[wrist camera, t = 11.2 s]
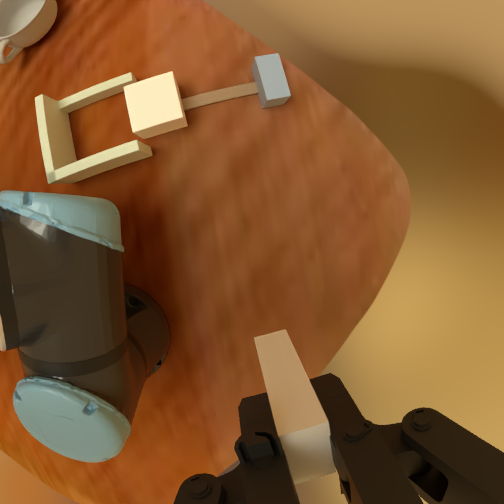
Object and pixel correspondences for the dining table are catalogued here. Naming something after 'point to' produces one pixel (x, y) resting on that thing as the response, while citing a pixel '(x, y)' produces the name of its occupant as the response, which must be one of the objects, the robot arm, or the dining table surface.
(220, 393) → the dining table surface
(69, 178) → the shelf lane
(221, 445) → the dining table surface
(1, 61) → the teacup
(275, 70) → the tethered block
